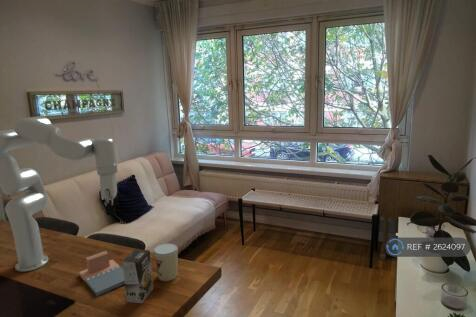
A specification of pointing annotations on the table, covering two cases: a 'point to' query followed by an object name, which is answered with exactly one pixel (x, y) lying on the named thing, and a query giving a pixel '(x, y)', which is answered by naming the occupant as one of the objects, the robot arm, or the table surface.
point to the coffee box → (138, 276)
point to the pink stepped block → (97, 265)
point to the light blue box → (106, 281)
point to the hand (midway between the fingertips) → (112, 210)
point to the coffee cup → (166, 261)
